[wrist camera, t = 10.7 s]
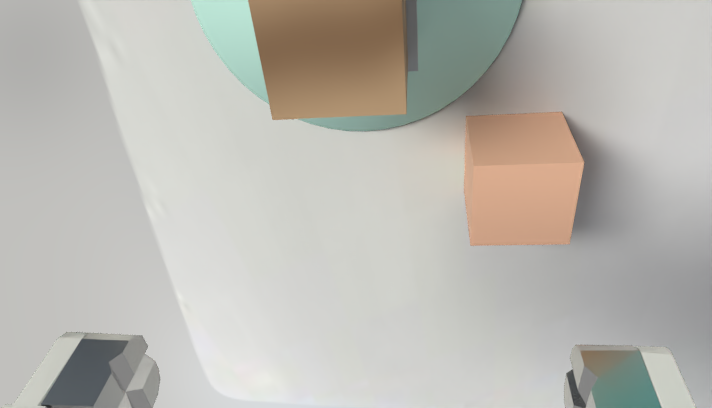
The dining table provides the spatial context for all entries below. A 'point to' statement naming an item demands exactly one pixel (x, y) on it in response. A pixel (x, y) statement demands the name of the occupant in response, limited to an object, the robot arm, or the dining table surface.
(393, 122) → the mint green round disc
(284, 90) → the walnut block
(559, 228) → the terracotta block
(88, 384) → the robot arm
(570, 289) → the dining table surface
